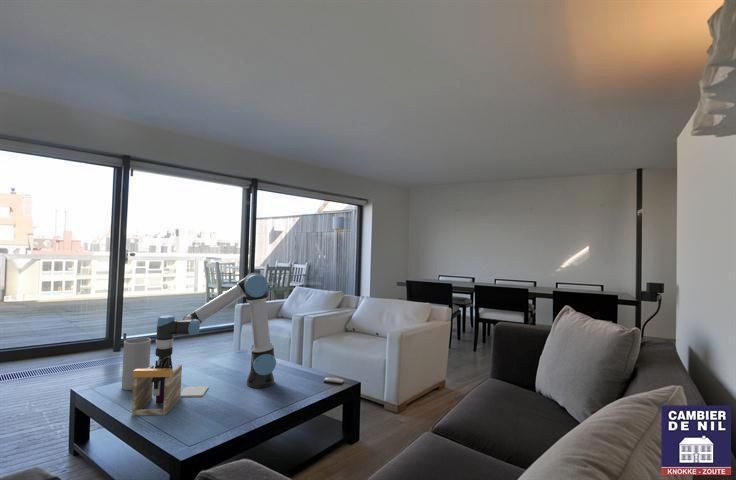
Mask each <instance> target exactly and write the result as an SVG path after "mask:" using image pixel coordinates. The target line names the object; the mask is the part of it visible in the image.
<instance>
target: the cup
mask: <svg viewBox="0 0 736 480" xmlns="http://www.w3.org/2000/svg"><path fill="white" fill-rule="evenodd" d="M165 378H166V377H161V378H160V395H155V403H156V404H164V385H165Z"/></svg>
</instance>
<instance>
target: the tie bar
mask: <svg viewBox="0 0 736 480" xmlns="http://www.w3.org/2000/svg"><path fill="white" fill-rule="evenodd" d="M173 370H174V369H173V368H159V369H155V368H154V369H135V370H134V371H133V377H171V376H172V373H173Z"/></svg>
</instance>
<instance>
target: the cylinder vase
mask: <svg viewBox="0 0 736 480" xmlns="http://www.w3.org/2000/svg"><path fill="white" fill-rule="evenodd" d="M151 343H152V339H151V338H150V337H134V338H128V339H125V340H124V341H123V352H122V353H123V358H122V374H121V376H122V377H121V378H122V379H121V389H123V390H125V391H133V379H134V378H135V377H133V371H134V370H135V369H147V368H148V367H149V366H150V364H151V362H150V361H151Z"/></svg>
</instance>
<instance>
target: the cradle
mask: <svg viewBox="0 0 736 480" xmlns="http://www.w3.org/2000/svg"><path fill="white" fill-rule="evenodd" d="M147 369H155V364H154V365H150V366H149V367H148V368H147ZM182 370H183V365H182V364H179V365H177V367H175V368H174V369H173V373H172V376H171V377H166V378H165V385H164V403H163V408H144V407H145V406H146V405H147V404H148V403H149V402H150V401H151V400H152V399H153V387H154V382H152V378H153V377H135V378H134V379H133V390H132V396H131V397H132V399H131V416H155V415H156V416H158V415H163V416H164V415H167V414H169V412H170V411H171V410H172V409H173V407H174V406H175V405H176V404H177V403H178V401H179V400H180V399H181V397H180V395H181V392H182V390H181V389H182V373H183V372H182ZM143 408H144V409H143Z"/></svg>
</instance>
